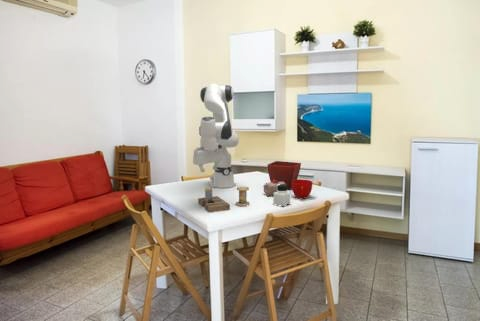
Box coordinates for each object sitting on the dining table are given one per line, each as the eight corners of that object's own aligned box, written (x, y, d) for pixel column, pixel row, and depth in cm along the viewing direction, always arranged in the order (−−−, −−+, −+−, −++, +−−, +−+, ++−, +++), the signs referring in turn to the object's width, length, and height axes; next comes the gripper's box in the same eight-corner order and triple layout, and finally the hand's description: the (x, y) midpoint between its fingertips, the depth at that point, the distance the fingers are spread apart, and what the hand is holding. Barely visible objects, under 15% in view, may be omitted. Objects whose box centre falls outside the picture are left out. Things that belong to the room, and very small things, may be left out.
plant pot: (300, 185, 263) (301, 162, 261) (293, 191, 246) (293, 166, 244) (275, 183, 271) (276, 160, 269) (266, 188, 254) (266, 164, 252)
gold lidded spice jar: (205, 206, 211) (204, 187, 209) (211, 205, 212) (211, 187, 210) (205, 208, 207) (205, 189, 205) (212, 207, 208) (212, 189, 206)
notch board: (198, 203, 217) (198, 198, 217) (217, 200, 222) (217, 196, 222) (209, 212, 199) (209, 206, 199) (229, 209, 204) (229, 204, 204)
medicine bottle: (290, 204, 215) (290, 184, 213) (283, 206, 210) (283, 186, 208) (280, 202, 220) (280, 182, 218) (273, 204, 215) (273, 184, 213)
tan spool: (233, 203, 217) (233, 186, 215) (246, 202, 220) (246, 185, 218) (239, 206, 209) (239, 189, 208) (251, 205, 213) (251, 188, 211)
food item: (266, 197, 232) (266, 181, 230) (262, 194, 239) (263, 179, 238) (286, 195, 235) (287, 180, 233) (282, 193, 243) (283, 178, 241)
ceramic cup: (290, 201, 222) (291, 184, 221) (291, 194, 239) (291, 179, 237) (312, 201, 220) (313, 185, 219) (311, 195, 237) (312, 179, 235)
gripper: (198, 148, 194) (198, 174, 197) (225, 145, 209) (225, 169, 212) (190, 147, 199) (190, 172, 201) (217, 144, 214) (217, 167, 216)
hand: (208, 170), depth 206 cm, fingers open, 8 cm apart
